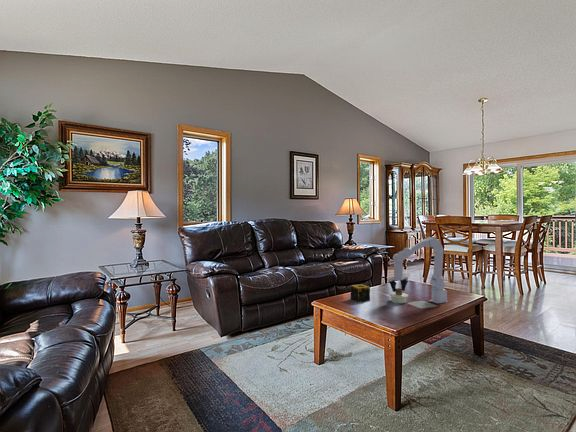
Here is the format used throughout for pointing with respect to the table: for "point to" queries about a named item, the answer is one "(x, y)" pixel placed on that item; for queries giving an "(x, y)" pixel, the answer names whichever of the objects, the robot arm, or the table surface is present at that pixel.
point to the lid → (398, 294)
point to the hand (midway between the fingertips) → (398, 291)
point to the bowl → (398, 300)
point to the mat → (422, 304)
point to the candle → (360, 293)
